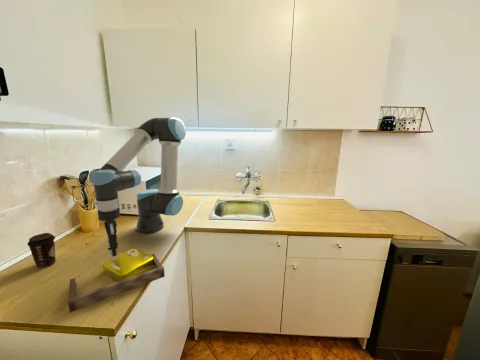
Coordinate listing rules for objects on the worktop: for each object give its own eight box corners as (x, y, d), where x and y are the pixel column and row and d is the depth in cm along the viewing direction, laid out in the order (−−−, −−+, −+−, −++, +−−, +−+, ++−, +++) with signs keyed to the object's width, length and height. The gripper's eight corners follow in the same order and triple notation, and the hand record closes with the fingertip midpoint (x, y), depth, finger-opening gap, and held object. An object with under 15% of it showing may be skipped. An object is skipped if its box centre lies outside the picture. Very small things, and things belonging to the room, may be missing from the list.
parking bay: (154, 259, 97) (154, 251, 96) (164, 276, 85) (164, 267, 84) (71, 286, 79) (69, 276, 78) (69, 312, 68) (67, 301, 67)
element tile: (101, 272, 88) (99, 262, 87) (135, 255, 100) (134, 246, 99) (122, 286, 80) (121, 275, 79) (156, 265, 93) (155, 256, 92)
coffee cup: (57, 256, 98) (52, 230, 95) (61, 263, 93) (56, 235, 90) (31, 264, 91) (25, 237, 89) (34, 272, 86) (28, 243, 83)
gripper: (96, 205, 88) (103, 257, 93) (98, 215, 77) (106, 272, 83) (116, 202, 92) (122, 251, 97) (121, 211, 82) (127, 265, 87)
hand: (115, 261), depth 90 cm, fingers closed
